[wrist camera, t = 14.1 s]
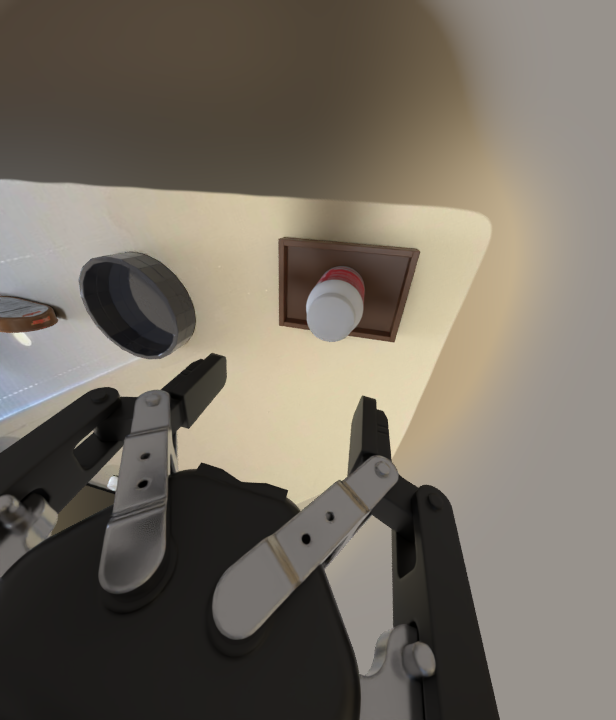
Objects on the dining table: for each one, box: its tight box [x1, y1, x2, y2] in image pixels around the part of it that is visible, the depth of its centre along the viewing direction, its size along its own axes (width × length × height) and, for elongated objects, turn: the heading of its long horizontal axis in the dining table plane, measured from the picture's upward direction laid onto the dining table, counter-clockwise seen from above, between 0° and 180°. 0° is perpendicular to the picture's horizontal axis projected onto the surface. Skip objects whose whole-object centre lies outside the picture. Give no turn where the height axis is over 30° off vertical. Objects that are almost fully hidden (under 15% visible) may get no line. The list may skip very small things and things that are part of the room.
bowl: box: [79, 252, 195, 359], centre depth 39 cm, size 16×16×4 cm
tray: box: [279, 237, 420, 342], centre depth 31 cm, size 16×11×2 cm
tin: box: [0, 296, 58, 333], centre depth 43 cm, size 15×3×8 cm, turn 81°
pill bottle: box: [306, 266, 365, 342], centre depth 27 cm, size 6×6×11 cm
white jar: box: [107, 476, 118, 491], centre depth 80 cm, size 5×3×5 cm
